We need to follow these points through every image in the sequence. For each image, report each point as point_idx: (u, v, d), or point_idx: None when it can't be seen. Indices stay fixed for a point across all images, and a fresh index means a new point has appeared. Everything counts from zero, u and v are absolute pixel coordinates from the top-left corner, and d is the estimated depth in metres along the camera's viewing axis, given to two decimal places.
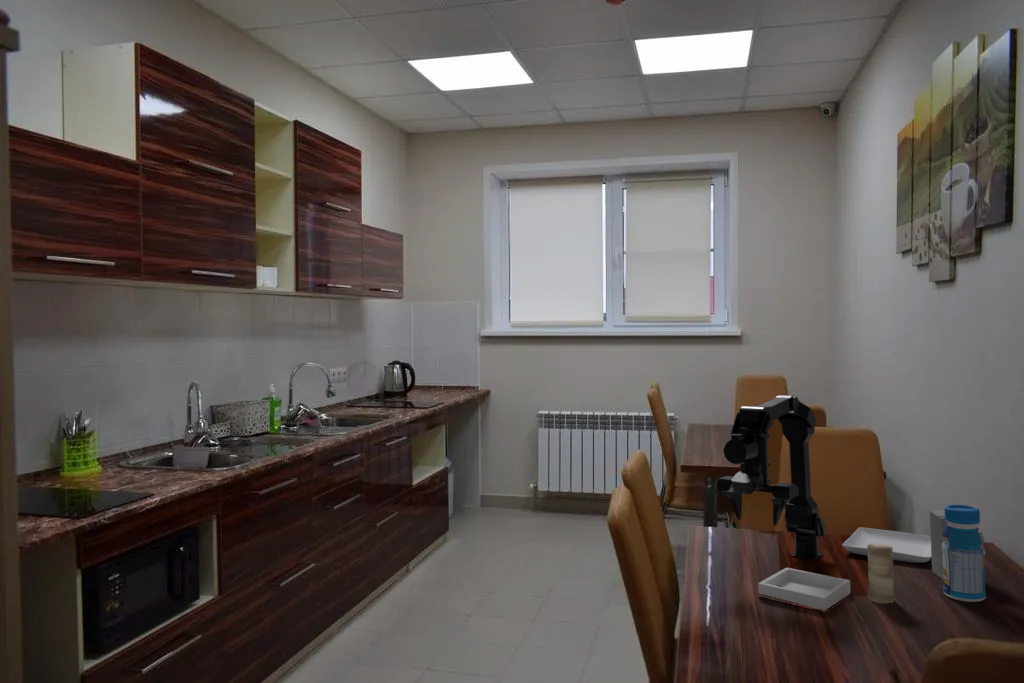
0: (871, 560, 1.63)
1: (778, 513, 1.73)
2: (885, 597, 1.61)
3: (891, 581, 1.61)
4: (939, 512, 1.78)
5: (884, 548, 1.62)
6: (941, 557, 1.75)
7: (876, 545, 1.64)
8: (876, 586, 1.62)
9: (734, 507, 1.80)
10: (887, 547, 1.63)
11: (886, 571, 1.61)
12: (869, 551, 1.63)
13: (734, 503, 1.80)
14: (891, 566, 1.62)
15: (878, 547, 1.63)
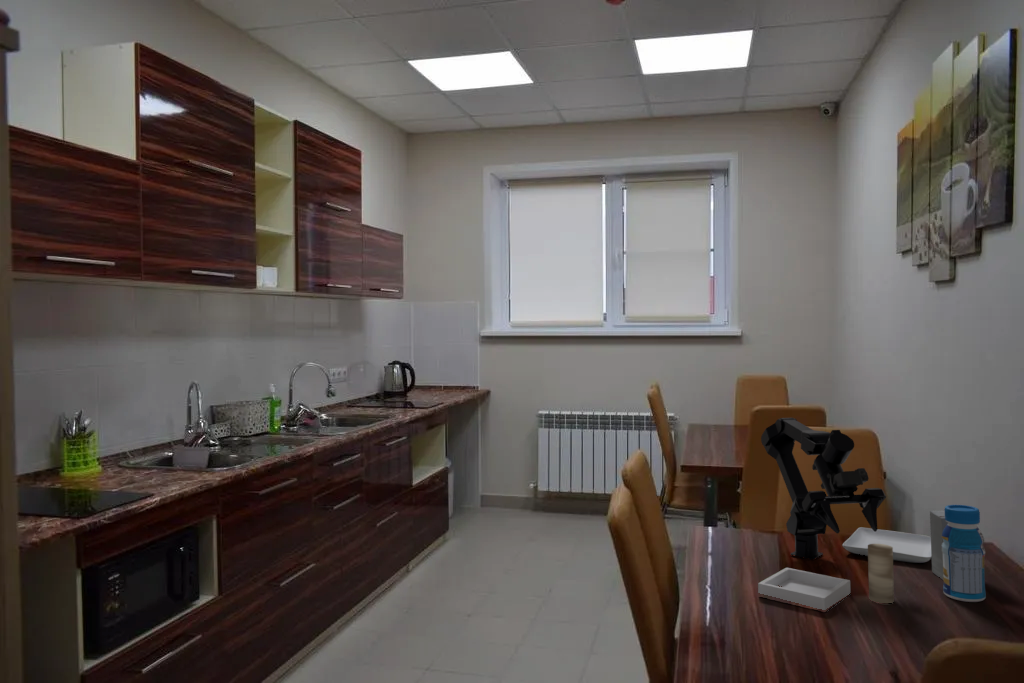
0: (871, 560, 1.63)
1: None
2: (885, 597, 1.61)
3: (891, 581, 1.61)
4: (939, 512, 1.78)
5: (884, 548, 1.62)
6: (941, 557, 1.75)
7: (876, 545, 1.64)
8: (876, 586, 1.62)
9: (832, 518, 1.73)
10: (887, 547, 1.63)
11: (886, 571, 1.61)
12: (869, 551, 1.63)
13: (831, 514, 1.73)
14: (891, 566, 1.62)
15: (878, 547, 1.63)
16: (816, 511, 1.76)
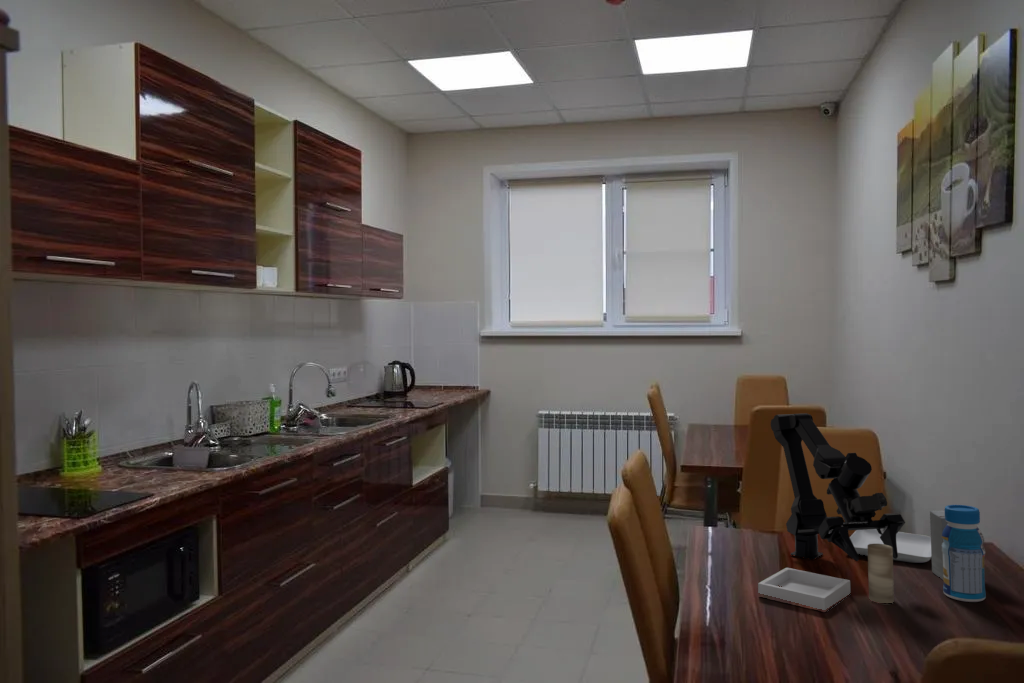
0: (871, 560, 1.63)
1: None
2: (885, 597, 1.61)
3: (891, 581, 1.61)
4: (939, 512, 1.78)
5: (884, 548, 1.62)
6: (941, 557, 1.75)
7: (876, 545, 1.64)
8: (876, 586, 1.62)
9: (851, 545, 1.66)
10: (887, 547, 1.63)
11: (886, 571, 1.61)
12: (869, 551, 1.63)
13: (849, 540, 1.66)
14: (891, 566, 1.62)
15: (878, 547, 1.63)
16: (833, 538, 1.70)
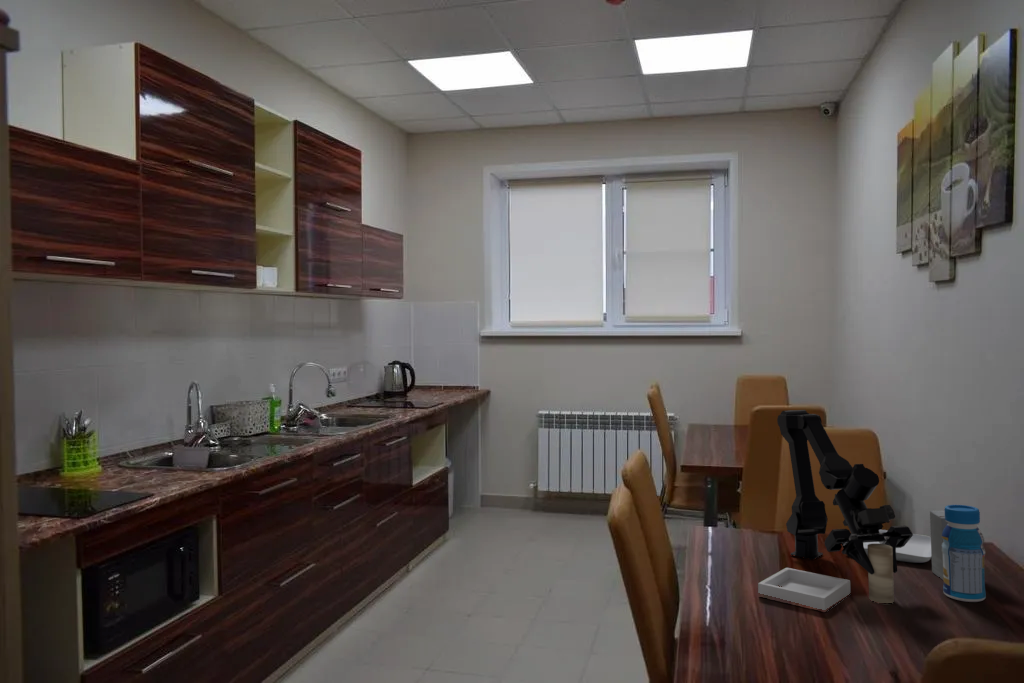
0: (871, 560, 1.63)
1: None
2: (885, 597, 1.61)
3: (891, 581, 1.61)
4: (939, 512, 1.78)
5: (884, 548, 1.62)
6: (941, 557, 1.75)
7: (876, 545, 1.64)
8: (876, 586, 1.62)
9: (866, 558, 1.63)
10: (887, 547, 1.63)
11: (886, 571, 1.61)
12: (869, 551, 1.63)
13: (865, 553, 1.64)
14: (891, 566, 1.62)
15: (878, 547, 1.63)
16: (848, 550, 1.67)
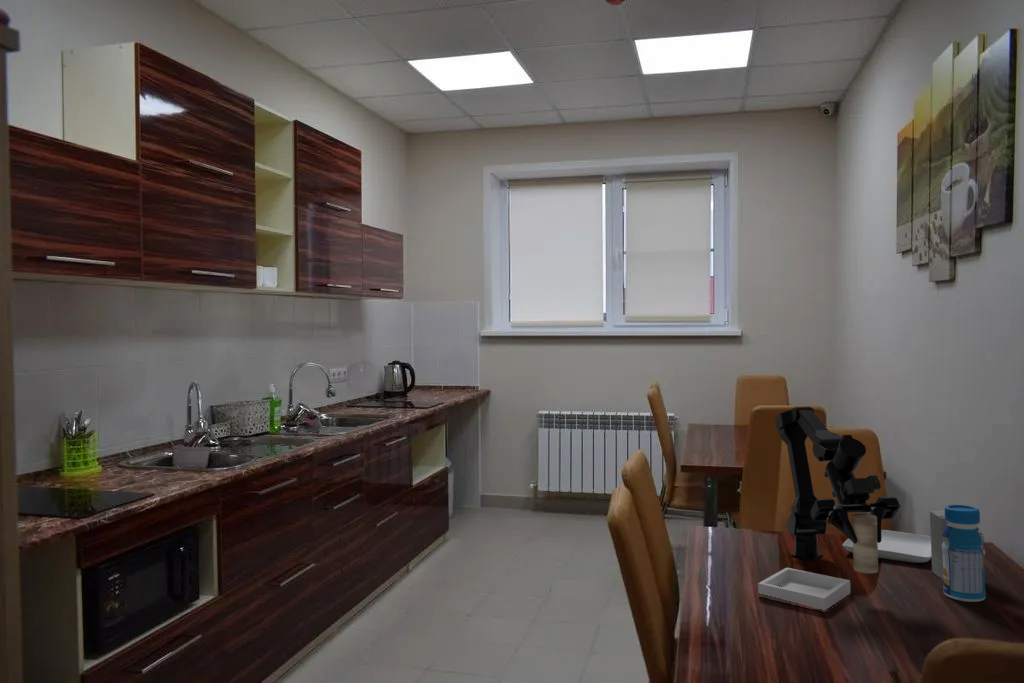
0: (855, 529, 1.63)
1: None
2: (868, 566, 1.61)
3: (874, 550, 1.62)
4: (939, 512, 1.78)
5: (868, 517, 1.62)
6: (941, 557, 1.75)
7: (861, 515, 1.65)
8: (859, 555, 1.62)
9: (849, 527, 1.64)
10: (871, 517, 1.63)
11: (869, 540, 1.61)
12: (853, 520, 1.64)
13: (849, 522, 1.64)
14: (875, 535, 1.62)
15: (862, 516, 1.63)
16: (833, 520, 1.68)
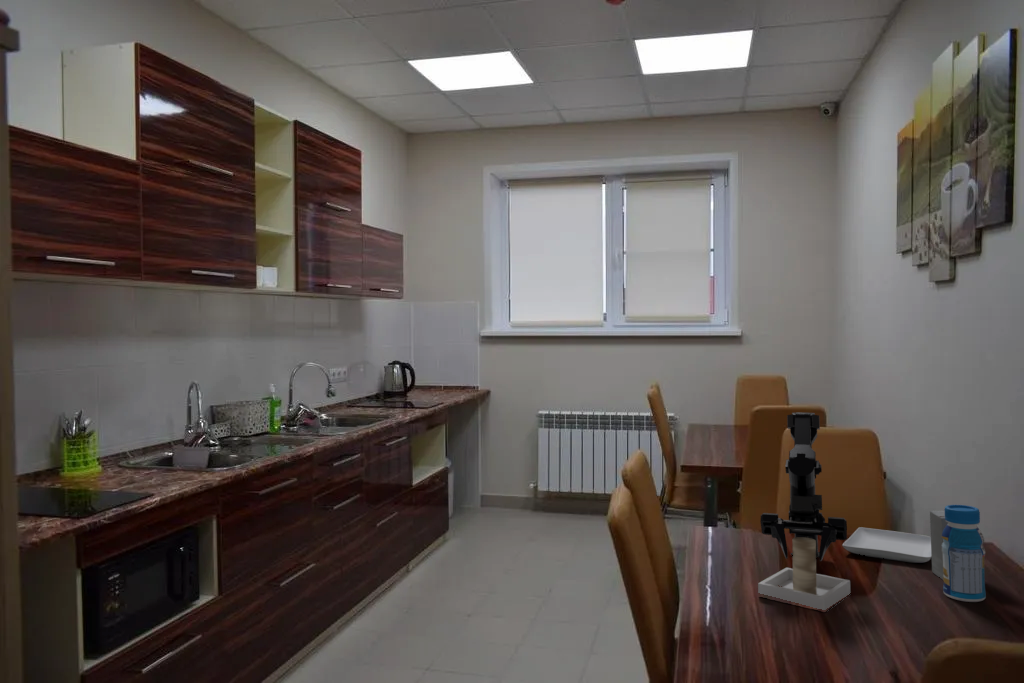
0: (793, 551, 1.68)
1: (825, 547, 1.66)
2: (801, 588, 1.66)
3: (809, 574, 1.65)
4: (939, 512, 1.78)
5: (804, 541, 1.66)
6: (941, 557, 1.75)
7: (802, 538, 1.69)
8: (795, 577, 1.67)
9: (783, 542, 1.69)
10: (809, 541, 1.66)
11: (803, 563, 1.66)
12: (792, 542, 1.69)
13: (784, 538, 1.70)
14: (810, 559, 1.65)
15: (801, 540, 1.68)
16: (775, 534, 1.74)
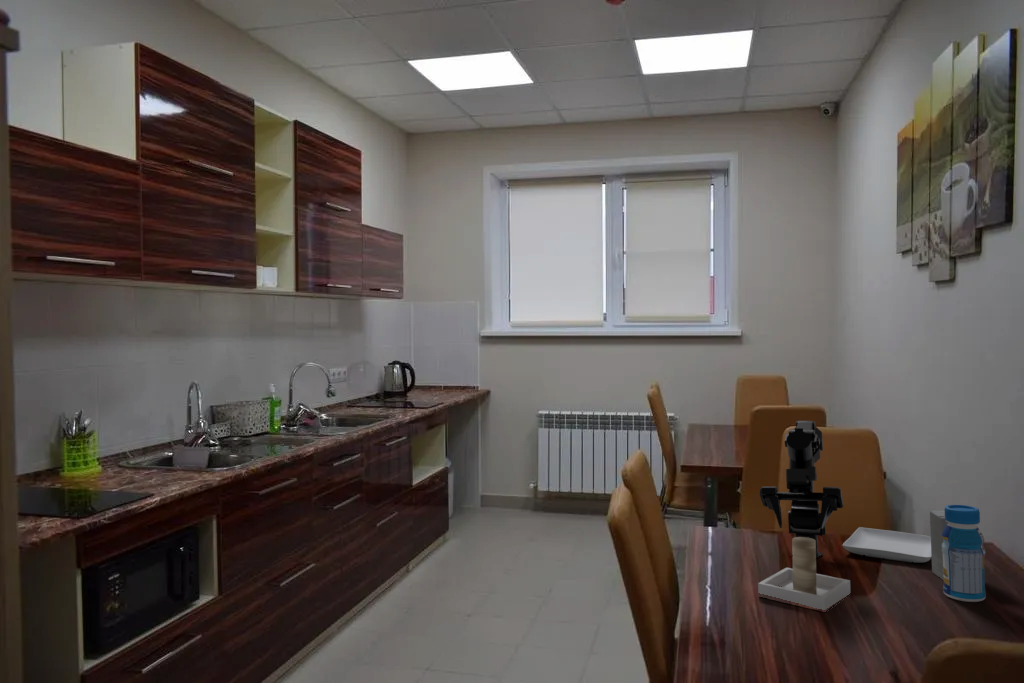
0: (792, 551, 1.68)
1: (825, 515, 1.75)
2: (801, 588, 1.66)
3: (809, 574, 1.65)
4: (939, 512, 1.78)
5: (804, 541, 1.66)
6: (941, 557, 1.75)
7: (802, 538, 1.69)
8: (795, 577, 1.67)
9: (777, 513, 1.79)
10: (809, 541, 1.67)
11: (803, 563, 1.66)
12: (792, 542, 1.69)
13: (777, 509, 1.80)
14: (810, 559, 1.65)
15: (801, 540, 1.68)
16: (771, 506, 1.84)
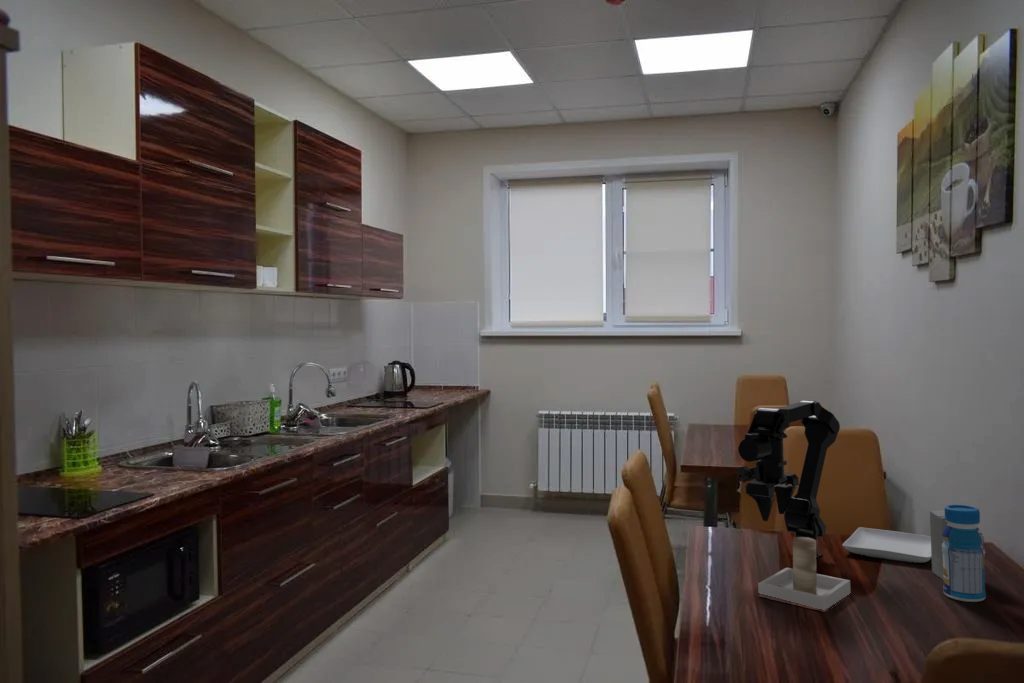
0: (793, 551, 1.68)
1: (761, 509, 1.84)
2: (802, 588, 1.66)
3: (810, 574, 1.65)
4: (939, 512, 1.78)
5: (805, 542, 1.66)
6: (941, 557, 1.75)
7: (802, 539, 1.68)
8: (795, 577, 1.67)
9: None
10: (810, 541, 1.66)
11: (803, 564, 1.65)
12: None
13: None
14: (811, 560, 1.65)
15: (801, 540, 1.67)
16: None
